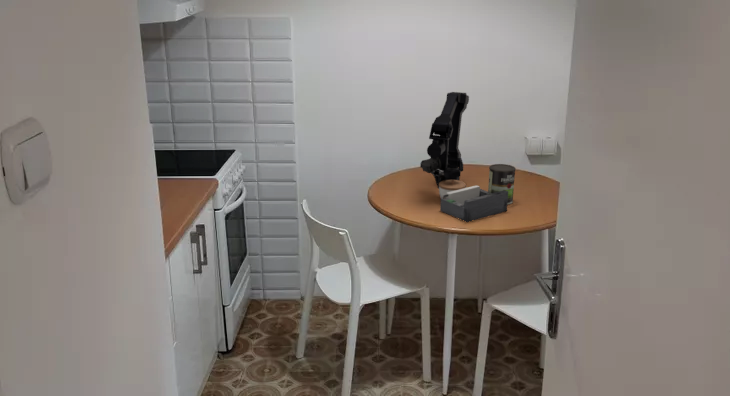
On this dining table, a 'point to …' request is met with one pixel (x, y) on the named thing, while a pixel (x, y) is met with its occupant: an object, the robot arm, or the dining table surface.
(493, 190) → the coffee can
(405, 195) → the dining table surface
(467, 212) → the box
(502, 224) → the dining table surface
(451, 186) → the lidded jar
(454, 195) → the grey flat bar
